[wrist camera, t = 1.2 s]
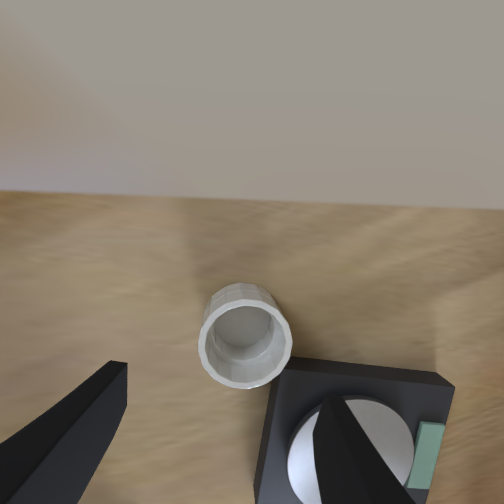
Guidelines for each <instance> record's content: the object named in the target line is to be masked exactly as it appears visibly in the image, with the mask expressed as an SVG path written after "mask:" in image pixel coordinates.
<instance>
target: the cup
mask: <svg viewBox="0 0 504 504" xmlns="http://www.w3.org/2000/svg"><path fill="white" fill-rule="evenodd" d="M292 343H293V340H292V336H291V331H290V327H289V324H288V322H287V320H286V318H285V317H284V315H283V313H282V312H281V310H280V308H279V306H278V304H277V303H276V301H275V300H274V299H273V297H272V296H271V295H270V293H268V291H266V290H264V289H263V288H261V287H259V286H257V285H255V284H248V283H236V284H233V285H229V286H226V287H224V288H222V289H221V290H220V291H218V292H217V293H215V294H214V295H213V296H212V298H211V299H210V301H209V303H208V304H207V306H206V308H205V310H204V315H203V320H202V324H201V329H200V335H199V342H198V352H199V355H200V359H201V362H202V365H203V367H204V368H205V369H206V370H207V372H208V373H209V374H210V375H211V376H212V378H213V379H214V380H216V381H218V382H220V383H222V384H224V385H226V386H228V387H231V388H241V389H250V388H254V387H257V386H261V385H265V384H266V383H268V382H269V381H271V380H272V379H273V378H275V377H276V376H277V375H279V374H280V373H281V371H282V370H283V368H284V367H285V365H286V363H287V362H288V360H289V358H290V354H291V348H292Z"/></svg>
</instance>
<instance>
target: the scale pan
mask: <svg viewBox="0 0 504 504" xmlns="http://www.w3.org/2000/svg"><path fill="white" fill-rule="evenodd" d="M342 397H343V399H344V400H345V402H346V403H347V405H348V406H349V408H350V409H351V411H352V413H353V414H354V416H355V417H356V419H357V421H358V422H359V424H360V425H361V427H362V428H363V430H364V431H365V433H366V434H367V436H368V437H369V439H370V440H371V442H372V443H373V445H374V446H375V448H376V449H377V451H378V452H379V454H380V455H381V457H382V458H383V460H384V461H385V462H386V464H387V465H388V467H389V468H390V469H391V471H392V472H393V474H394V475H395V476H396V478H397V479H398V480H399V482H400V483H401V484H402V486H403V485H404V483H405V482H406V480H407V478H408V476H409V474H410V471H411V468H412V465H413V459H414V444H413V439H412V435H411V433H410V430H409V428H408V426H407V424H406V423H405V421H404V420H403V419H402V418H401V416H400V415H399V414H398V413H397V412H396V411H395V410H394V409H393V408H392V407H391V406H389V405H388V404H386V403H385V402H383V401H381V400H378V399H376V398H373V397H369V396H363V395H346V396H342ZM321 405H322V404H320V405H318V406H317V407H315V408H314V409H312V410H311V411H310V412H309V413H307V414H306V415H305V416H304V417H303V419H302V420H301V421H300V422H299V423H298V425H297V426H296V427H295V429H294V431H293V433H292V435H291V437H290V440H289V442H288V446H287V450H286V470H287V475H288V479H289V482H290V485H291V487H292V489H293V491H294V493H295V494H296V495H297V497H298V498H299V499H300V500H301V501H302V502H303V503H304V504H322V503H321V498H320V493H319V487H318V481H317V476H316V470H315V463H314V452H313V438H312V433H313V430H314V427H315V424H316V420H317V417H318V414H319V411H320V408H321Z"/></svg>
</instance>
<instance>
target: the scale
mask: <svg viewBox="0 0 504 504" xmlns="http://www.w3.org/2000/svg"><path fill="white" fill-rule="evenodd" d="M454 390H455V386H453V385H452V384H451V383H449V382H448V381H447V380H446V379H444V378H443V377H442V376H440V375H439V374H438V373H436V372H427V371H418V370H409V369H400V368H391V367H382V366H373V365H364V364H354V363H345V362H336V361H327V360H318V359H309V358H300V357H291V356H290V358H289V360H288V362H287V363H286V365H285V367H284V368H283V370H282V371H281V373H280V374H279V375H277V376H276V377H275V378H273V379H272V383H271V389H270V394H269V400H268V406H267V411H266V417H265V423H264V428H263V434H262V440H261V445H260V451H259V457H258V462H257V468H256V474H255V479H254V485H253V487H254V497H255V504H304V503H303V502H302V501H301V500H300V499H299V498H298V497H297V495H296V494H295V493H294V491H293V489H292V487H291V485H290V482H289V479H288V475H287V470H286V450H287V446H288V442H289V440H290V437H291V435H292V433H293V431H294V429H295V427H296V426H297V425H298V423H299V422H300V421H301V420H302V419H303V417H304V416H305V415H306V414H307V413H309V412H310V411H311V410H312V409H314V408H315V407H317V406H318V405H320V404H322V402H323V399H324V396H325V394H331V395H337V396H346V395H363V396H369V397H373V398H376V399H378V400H381V401H383V402H385V403H386V404H388V405H389V406H391V407H392V408H393V409H394V410H395V411H396V412H397V413H398V414H399V415H400V416H401V418H402V419H403V420H404V421H405V423H406V424H407V426H408V428H409V430H410V433H411V435H412V439H413V444H414V459H413V465H412V468H411V471H410V474H409V476H408V478H407V480H406V482H405V483H404V485H403V487H404V488H405V490H406V491H407V492H408V494H409V495H410V496H411V498H412V499H413V500H414V501H415V503H416V504H425V503H426V500H427V496H428V492H429V488H430V484H431V480H432V476H433V472H434V468H435V465H436V461H437V457H438V453H439V449H440V445H441V441H442V437H443V433H444V429H445V425H446V421H447V417H448V414H449V410H450V406H451V402H452V398H453V394H454Z"/></svg>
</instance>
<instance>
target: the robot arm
mask: <svg viewBox="0 0 504 504" xmlns="http://www.w3.org/2000/svg"><path fill="white" fill-rule="evenodd" d="M126 407H127V363H125V362H118V361H112V360H110V361H109V362H107V363H106V364H105V365H104V366H102V367H101V368H100V369H99V370H98V371H96V372H95V373H94V374H93V375H92V376H90V377H89V378H88V379H87V380H86V381H84V382H83V383H82V384H81V385H79V386H78V387H77V388H76V389H74V390H73V391H72V392H71V393H69V394H68V395H67V396H66V397H64V398H63V399H62V400H60V401H59V402H58V403H57V404H55V405H54V406H53V407H51V408H50V409H49V410H47V411H46V412H45V413H43V414H42V415H41V416H39V417H38V418H36V419H35V420H34V421H32V422H31V423H30V424H28V425H27V426H25V427H24V428H23V429H21V430H20V431H18V432H17V433H15V434H14V435H12V436H11V437H10V438H8V439H7V440H5V441H4V442H2V443H1V444H0V504H77V503H78V502H79V500H80V498H81V496H82V494H83V492H84V491H85V489H86V487H87V485H88V483H89V481H90V480H91V478H92V476H93V474H94V472H95V471H96V469H97V467H98V465H99V463H100V461H101V460H102V458H103V456H104V454H105V452H106V450H107V448H108V447H109V445H110V443H111V441H112V439H113V437H114V435H115V433H116V431H117V428H118V426H119V424H120V421H121V419H122V416H123V414H124V412H125V409H126ZM312 438H313V452H314V463H315V470H316V476H317V481H318V487H319V493H320V498H321V503H322V504H416V503H415V501H414V500H413V499H412V498H411V496H410V495H409V494H408V492H407V491H406V490H405V488H404V487H403V486H402V484H401V483H400V482H399V480H398V479H397V478H396V476H395V475H394V474H393V472H392V471H391V469H390V468H389V467H388V465H387V464H386V462H385V461H384V460H383V458H382V457H381V455H380V454H379V452H378V451H377V449H376V448H375V446H374V445H373V443H372V442H371V440H370V439H369V437H368V436H367V434H366V433H365V431H364V430H363V428H362V427H361V425H360V424H359V422H358V421H357V419H356V417H355V416H354V414H353V413H352V411H351V409H350V408H349V406H348V405H347V403H346V402H345V400H344V399H343V397H342V396H337V395H331V394H325V396H324V399H323V402H322V405H321V408H320V411H319V414H318V417H317V420H316V424H315V427H314V430H313V433H312Z"/></svg>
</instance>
